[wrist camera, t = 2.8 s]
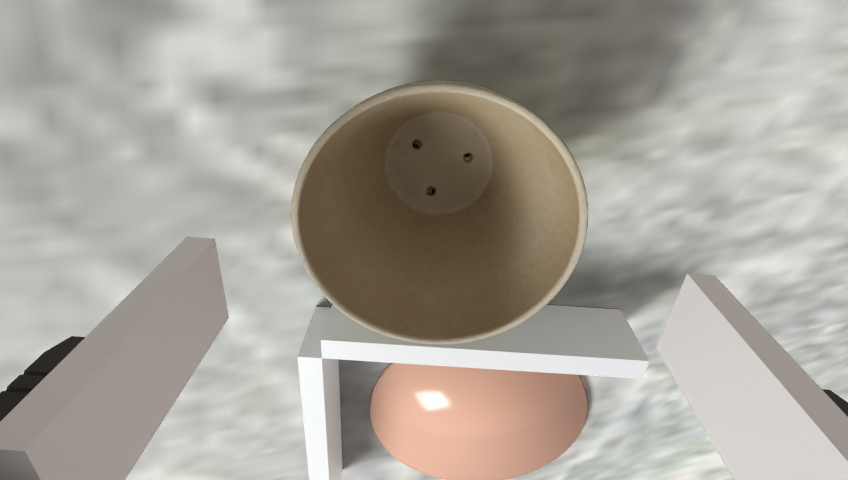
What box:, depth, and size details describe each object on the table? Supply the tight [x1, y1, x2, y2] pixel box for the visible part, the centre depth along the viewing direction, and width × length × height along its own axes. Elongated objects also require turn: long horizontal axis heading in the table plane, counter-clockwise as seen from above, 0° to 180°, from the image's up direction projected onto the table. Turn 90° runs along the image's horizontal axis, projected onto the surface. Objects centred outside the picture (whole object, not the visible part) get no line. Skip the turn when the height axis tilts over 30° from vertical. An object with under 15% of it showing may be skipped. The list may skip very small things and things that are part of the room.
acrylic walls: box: [298, 304, 650, 480], centre depth 28 cm, size 16×17×4 cm
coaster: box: [370, 363, 587, 480], centre depth 30 cm, size 14×14×1 cm
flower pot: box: [291, 80, 588, 344], centre depth 19 cm, size 10×10×7 cm
